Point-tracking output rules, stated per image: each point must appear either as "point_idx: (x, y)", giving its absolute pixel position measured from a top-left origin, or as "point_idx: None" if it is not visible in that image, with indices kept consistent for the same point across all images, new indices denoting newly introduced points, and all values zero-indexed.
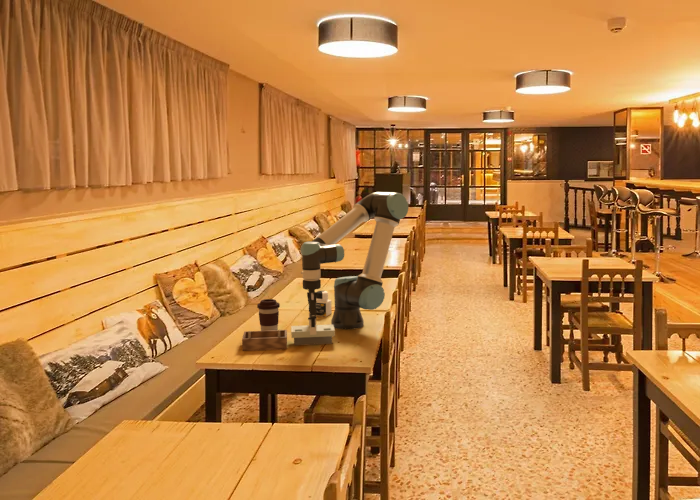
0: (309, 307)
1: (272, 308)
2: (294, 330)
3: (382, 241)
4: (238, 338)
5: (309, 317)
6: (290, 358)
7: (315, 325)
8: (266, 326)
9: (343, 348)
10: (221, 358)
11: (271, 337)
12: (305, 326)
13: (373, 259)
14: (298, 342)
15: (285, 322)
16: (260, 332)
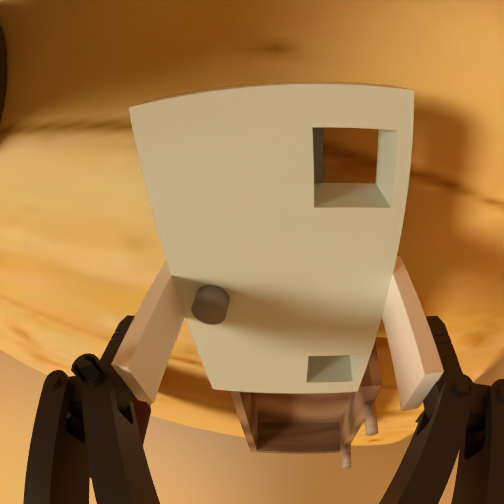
0: (145, 459)
1: None
2: (327, 383)
3: None
4: (206, 422)
5: (164, 367)
6: (491, 314)
7: (422, 320)
8: (149, 406)
9: (440, 40)
10: (390, 431)
11: (358, 417)
12: (223, 337)
13: None
14: None
15: (12, 313)
16: (252, 430)
